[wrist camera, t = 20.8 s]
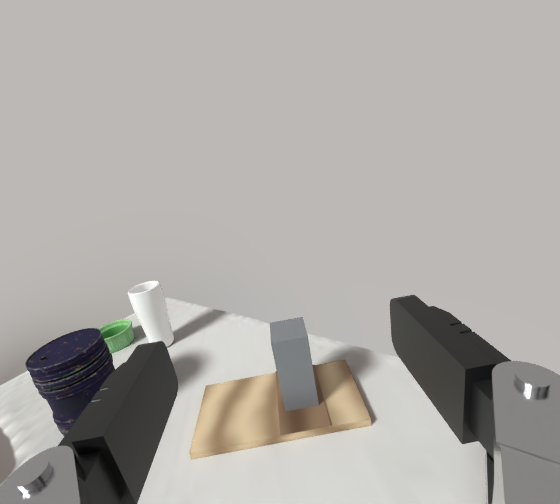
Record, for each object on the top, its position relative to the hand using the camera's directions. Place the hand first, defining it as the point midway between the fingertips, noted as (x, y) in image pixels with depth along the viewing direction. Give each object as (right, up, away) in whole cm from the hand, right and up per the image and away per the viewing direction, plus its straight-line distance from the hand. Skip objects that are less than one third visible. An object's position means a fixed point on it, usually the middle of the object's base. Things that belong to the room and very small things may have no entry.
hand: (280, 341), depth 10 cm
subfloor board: (0, -21, +34) cm, 40 cm away
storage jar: (-30, -26, +37) cm, 55 cm away
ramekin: (-41, -20, +60) cm, 75 cm away
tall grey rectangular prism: (+3, -19, +33) cm, 39 cm away
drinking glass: (-28, -19, +56) cm, 66 cm away
